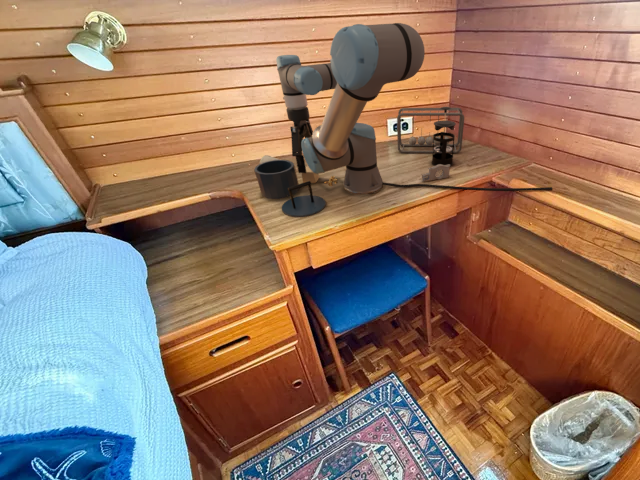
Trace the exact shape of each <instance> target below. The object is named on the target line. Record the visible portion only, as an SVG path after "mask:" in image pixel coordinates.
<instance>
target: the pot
mask: <svg viewBox="0 0 640 480" xmlns="http://www.w3.org/2000/svg"><path fill="white" fill-rule="evenodd" d="M253 171H254V173H255V177H256V181H257V184H258V186H259V191H260V194H261V196H262V197H263V198H265V199H271V200H280V199H286V198H289V197H290V193H289V191H288V188H289V187H292V186H295V185H298V184H299V180H298V176H297V171H296V166H295V163H294V162H293V161H291V160H287V159H280V160H272V161H267V162H263V163H261V164H257V165H256V166H255V167H254V169H253ZM299 191H300V188H298V189H295V190H292V194H293V196H294V195H296V194H297V193H298V192H299Z"/></svg>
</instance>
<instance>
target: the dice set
mask: <svg viewBox="0 0 640 480" xmlns="http://www.w3.org/2000/svg"><path fill="white" fill-rule="evenodd" d="M338 183H339V182H338V178H335V175H331V176H330V178H329V181H326V180H325V181H324V184H327V185H328V186H329V187H332V186H333V184H338Z"/></svg>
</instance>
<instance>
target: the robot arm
mask: <svg viewBox="0 0 640 480" xmlns="http://www.w3.org/2000/svg"><path fill="white" fill-rule="evenodd" d="M425 54H426V53H425V45H424V41H423V38H422V37H421V35H420V33H419V31H418V30H416V29H415V28H414V27H412V26H411V25H409V24H406V23H402V22H395V23H380V24H378V23H377V24H363V23H357V24H352V25H349V26H344V27H342V28H340V29H339V30H338V31H337V32H336V33H335V35H334V37H333V38H332V41H331V45H330V51H329V55H330V56H331V57H330V61H329V62H327V63H316V64H308V65H302V62H301V59H300V57H299V56H298V55H296V54H281V55H278V56H276V59H275V61H276V68H277V69H276V70H277V72H278V78H279V81H280V86H281V90H282V95H283V97H282V99H283V101H284V104H285V107H286V109H285V110H286V115H287V119H288V120H289V121H291V122H293V126H290V127H289V128H290V134H291V135H290V136H291V155H292V157H295V161H296V164H297V165H296V166H297V170H298V173H299V174H301V173H306V167H309V168H310V169H311V170H312V171H313V172H314V173H316V174H318V175H319V174H323V173H324V174H325V173H327V172H330V171H334V170H337V169H340V168H343V167H345V172H344V176H343V182H342V183H343V185H342V186H343V189H344V191H346V192H347V193H350V194H353V195H354V194H355V195H373V194H376V193H378V192H380V191H382V189H383V187H384V186H388V187H394V188H414V187H419V188H421V187H423V188H436V189H437V188H438V189H447V190H448V189H450V190H463V191H465V190H466V191H482V192H483V191H484V192H526V191H527V192H531V191H552V190H553V186H549V187H546V186H545V187H514V188H513V187H511V188H509V187H505V188H504V187H502V188H501V187H474V186H473V187H471V186H458V185H457V186H455V185H443V184H441V185H440V184H429V183H410V184H409V183H408V184H398V183H392V182H384V181H383V178H382V175H381V173H380V170H379V168H378V159H377V143H376V142H377V141H376V140H377V138H376V132H375V128H374V127H373V126H372V125H370V124H367V123H363V122H358V120H359V118H360V116H361V115H362V112H363V111H364V109H365V108H366V106H367V103H369V102H372V101H374V100H375V99H376V98H377V97H378V96H379V94H380V92H381V90H382V89H383V87H384V86H385V85H386V84H391V83H398V82H404V81H407V80H409V79H411V78H413V77H415V75H417V73H419V71H420V69H421V68H422V66H423V65H424V60H425ZM330 90H334V91H333V93H332V96H331V99H330V102H329V104H328V107H327V109H326V112H325V114H324V117H323V120H322V123H321V125H318V126H316V127H315V129H314V130H313V127H312V125H311V122H310V111H309V107H308V98H307V96H316V95H317V94H319V93H320V92H324V91H325V92H326V91H330ZM306 164H307V166H306Z"/></svg>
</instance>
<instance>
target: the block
mask: <svg viewBox="0 0 640 480" xmlns="http://www.w3.org/2000/svg"><path fill="white" fill-rule="evenodd" d="M305 167H306V173H300V174H301V177H302V183H305V182H308V181H310V182H311V184H316V183H317V181H318V180H319V179H320V176H319V174H316V173H314V172H313V171H312V170H311V169H310V168H309V166H305Z"/></svg>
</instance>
